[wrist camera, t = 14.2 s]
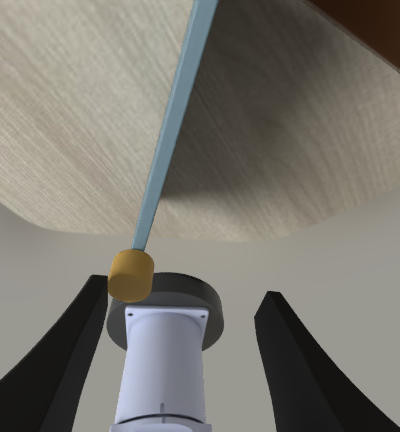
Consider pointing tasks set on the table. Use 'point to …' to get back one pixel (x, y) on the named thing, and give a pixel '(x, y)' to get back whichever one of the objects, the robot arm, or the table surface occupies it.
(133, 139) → the table surface
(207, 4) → the blue cabinet door
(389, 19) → the cabinet
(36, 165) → the table surface
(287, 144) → the table surface
